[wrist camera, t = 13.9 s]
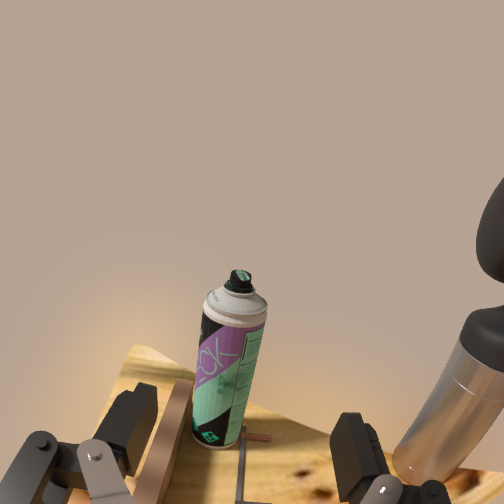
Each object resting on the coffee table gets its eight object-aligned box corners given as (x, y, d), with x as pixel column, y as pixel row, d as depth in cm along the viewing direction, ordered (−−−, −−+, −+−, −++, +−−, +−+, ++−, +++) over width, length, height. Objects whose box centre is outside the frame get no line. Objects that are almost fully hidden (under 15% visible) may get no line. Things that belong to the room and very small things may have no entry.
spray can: (211, 410, 33) (234, 258, 28) (247, 432, 30) (285, 277, 25) (181, 431, 29) (194, 268, 24) (218, 458, 26) (250, 292, 21)
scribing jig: (176, 400, 34) (177, 377, 33) (269, 416, 34) (276, 394, 33) (136, 517, 16) (130, 502, 15) (271, 540, 16) (282, 527, 15)
